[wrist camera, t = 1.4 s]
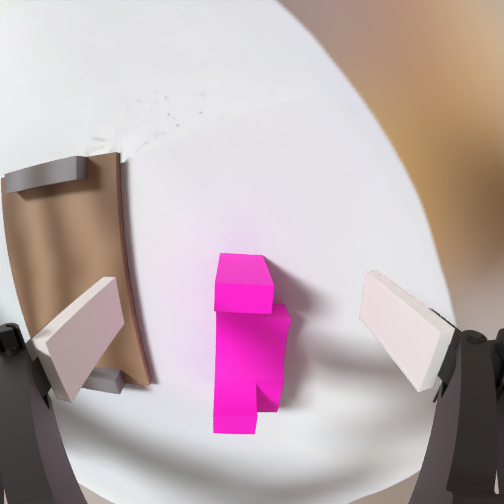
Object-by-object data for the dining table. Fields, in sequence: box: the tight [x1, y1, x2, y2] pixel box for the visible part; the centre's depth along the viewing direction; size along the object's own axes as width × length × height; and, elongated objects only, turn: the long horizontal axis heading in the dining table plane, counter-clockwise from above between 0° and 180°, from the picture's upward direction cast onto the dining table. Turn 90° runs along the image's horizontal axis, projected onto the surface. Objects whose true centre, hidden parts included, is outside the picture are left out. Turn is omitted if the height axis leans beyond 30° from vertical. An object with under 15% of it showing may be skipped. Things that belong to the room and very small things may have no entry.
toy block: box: [213, 253, 291, 434], centre depth 23 cm, size 15×6×8 cm, turn 175°
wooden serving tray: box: [1, 152, 151, 394], centre depth 22 cm, size 16×24×3 cm, turn 1°
